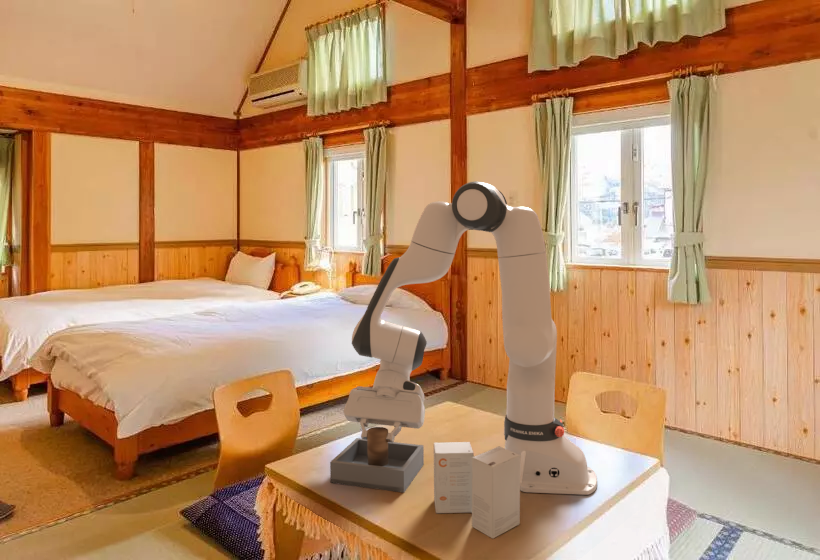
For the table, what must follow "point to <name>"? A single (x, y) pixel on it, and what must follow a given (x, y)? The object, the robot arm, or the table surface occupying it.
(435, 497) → the small box
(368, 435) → the walnut cylinder
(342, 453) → the tote
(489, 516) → the skincare box
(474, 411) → the table surface
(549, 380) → the robot arm
